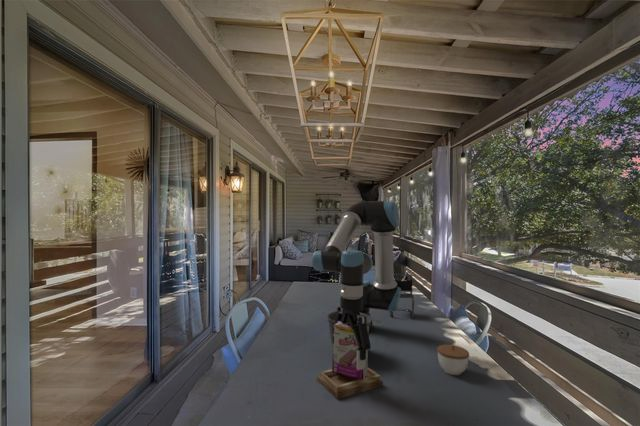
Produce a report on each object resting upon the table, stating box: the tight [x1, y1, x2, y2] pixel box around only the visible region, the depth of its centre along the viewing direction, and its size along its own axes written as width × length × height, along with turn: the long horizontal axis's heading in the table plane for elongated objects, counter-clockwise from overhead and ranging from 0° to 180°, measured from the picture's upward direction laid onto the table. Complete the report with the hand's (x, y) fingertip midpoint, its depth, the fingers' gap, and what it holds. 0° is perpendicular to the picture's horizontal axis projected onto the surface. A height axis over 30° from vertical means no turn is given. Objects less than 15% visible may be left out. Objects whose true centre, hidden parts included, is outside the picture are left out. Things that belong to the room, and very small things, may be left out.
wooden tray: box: [316, 366, 384, 400], centre depth 109 cm, size 18×13×3 cm
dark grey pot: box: [326, 310, 373, 347], centre depth 133 cm, size 18×18×15 cm
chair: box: [389, 273, 415, 319], centre depth 189 cm, size 13×17×22 cm
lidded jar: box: [437, 344, 470, 376], centre depth 119 cm, size 11×11×9 cm
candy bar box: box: [331, 321, 369, 380], centre depth 109 cm, size 11×5×16 cm, turn 65°
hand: (349, 361), depth 109 cm, fingers closed on candy bar box, 11 cm apart
